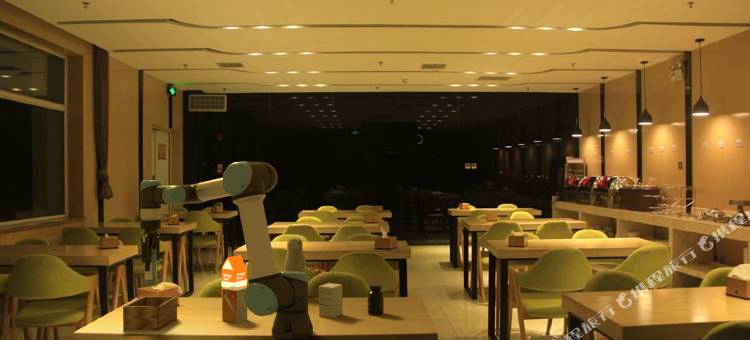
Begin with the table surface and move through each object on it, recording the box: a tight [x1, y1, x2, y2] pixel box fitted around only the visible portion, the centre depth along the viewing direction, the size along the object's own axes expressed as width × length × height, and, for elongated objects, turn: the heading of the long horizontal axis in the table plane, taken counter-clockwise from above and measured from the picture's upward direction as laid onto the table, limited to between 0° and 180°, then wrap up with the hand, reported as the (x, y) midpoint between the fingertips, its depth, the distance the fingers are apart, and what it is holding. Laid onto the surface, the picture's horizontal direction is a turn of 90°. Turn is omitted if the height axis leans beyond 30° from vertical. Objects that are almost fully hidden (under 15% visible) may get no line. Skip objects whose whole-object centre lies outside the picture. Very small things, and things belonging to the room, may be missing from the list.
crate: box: [122, 295, 178, 331], centre depth 229 cm, size 14×18×9 cm
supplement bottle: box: [367, 283, 385, 316], centre depth 244 cm, size 7×7×12 cm
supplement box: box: [318, 282, 344, 319], centre depth 241 cm, size 7×7×13 cm
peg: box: [144, 249, 157, 287], centre depth 229 cm, size 4×4×14 cm
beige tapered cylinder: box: [283, 237, 307, 274], centre depth 278 cm, size 10×10×28 cm
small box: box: [221, 286, 248, 324], centre depth 235 cm, size 8×6×13 cm
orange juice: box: [221, 254, 248, 290], centre depth 275 cm, size 8×9×20 cm
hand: (150, 278), depth 229 cm, fingers closed on peg, 4 cm apart
